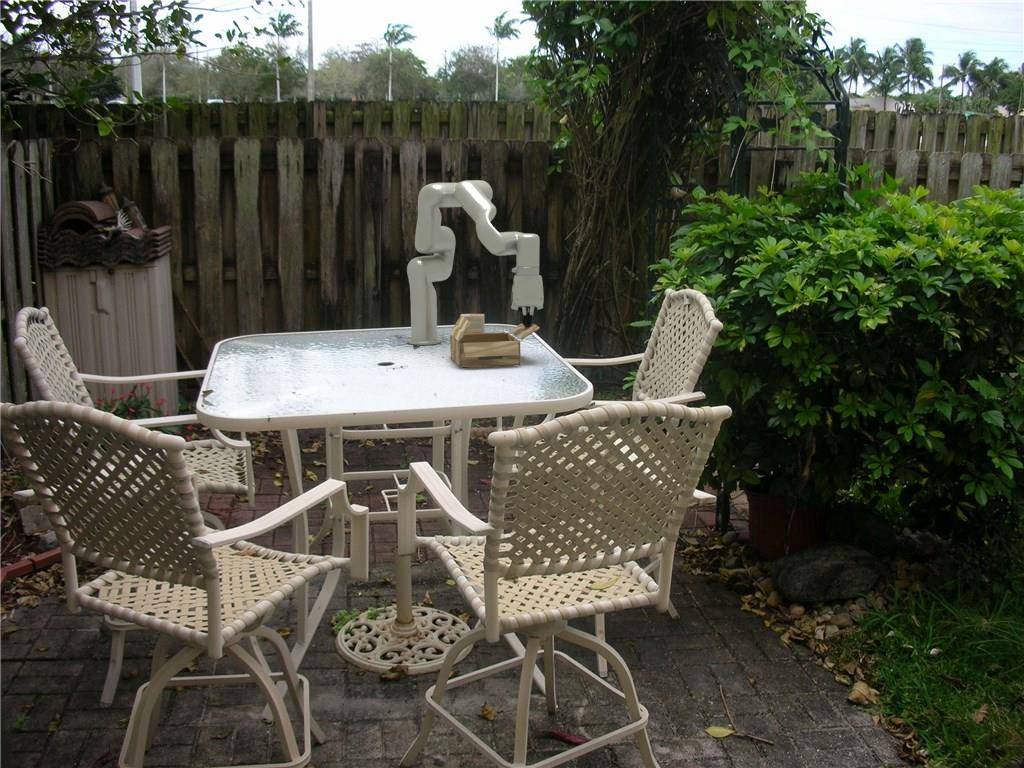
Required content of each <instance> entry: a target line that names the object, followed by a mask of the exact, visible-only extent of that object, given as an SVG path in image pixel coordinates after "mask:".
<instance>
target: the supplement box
mask: <svg viewBox="0 0 1024 768" xmlns="http://www.w3.org/2000/svg"><path fill="white" fill-rule="evenodd" d="M460 316H463V317H464V318H465V319H467V320H468V321H469V322H471V325H470V326H469V328H468V329H467V331H466V333H486V332H485V324H486V323H485V313H461V314H460V315H459V317H460Z"/></svg>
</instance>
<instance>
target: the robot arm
mask: <svg viewBox="0 0 1024 768" xmlns="http://www.w3.org/2000/svg"><path fill="white" fill-rule="evenodd" d="M493 194H494V193H493V188H492V187H491V185H490V184H489V182H487V181H485V180H482V179H481V180H480V179H479V180H478V179H477V180H476V179H474V180H468V179H467V180H463V181H462V180H461V181H460V182H433V183H429V184H426V185H424V186H423V187H421V189H420V191H419V192H418V196H417V198H418V199H417V220H416V229H415V235H414V237H415V238H414V247H415V250H416V251H417V252H418V253H420V254H424V255H423V256H417V257H416V256H415V257H414V258H412V259H411V260H410V261H409V262H408V264H407V267H406V273H407V278H408V284H409V292H410V295H409V296H410V326H411V327H410V329H411V331H410V332H411V333H410V336H411V337H409V338H407V340H406V342H407V343H408V344H409V345H414V346H415V345H417V346H418V345H419V346H429V345H430V346H431V345H437V344H440V342H441V343H442V338H441V337H438V306H437V303H438V301H437V292H436V289H435V287H434V285H433V283H435V282H442V281H445V280H447V279H448V278H449V277H450V276H451V274H452V271H453V265H454V257H455V250H456V236H455V234H454V231H453V230H452V229H451V228H450V227H448V226H445V225H441V224H442V212H441V210H440V208H462V209H463V210H464V211H465V212H466V213H467V214H468V216H469V217H471V219H472V220H473V221H474V223H475V230H476V235H477V239H478V240H479V241H480V243H481V244H482V245H483V246H484V247H485V249H486V250H487V251H488V252H490V253H491V254H492V255H495V256H512V255H516V258H515V259H516V262H515V263H516V265H515V267H513V268H511V273H514V277H513V281H512V289H511V306H510V308H511V309H512V310H514V311H518V312H520V314H521V323H522V324H524V326H525V327H530V324H532V323H533V315H534V313H536V312H537V311H538V310H541V309H544V298H545V297H544V295H545V294H544V285H543V278H542V277H543V276H542V275H540V236H539V235H538V234H536V233H524V232H521V231H520V232H519V231H504V232H499V231H498V230H497V229H496V228H495V226H493V224H492V223H491V222H492V221H493V219H495V216H496V215H497V208H496V206H495V205H494V204H493V203H492V199H493ZM425 254H428V255H425ZM429 254H433V255H429ZM526 307H527V308H528V309H527V308H526Z"/></svg>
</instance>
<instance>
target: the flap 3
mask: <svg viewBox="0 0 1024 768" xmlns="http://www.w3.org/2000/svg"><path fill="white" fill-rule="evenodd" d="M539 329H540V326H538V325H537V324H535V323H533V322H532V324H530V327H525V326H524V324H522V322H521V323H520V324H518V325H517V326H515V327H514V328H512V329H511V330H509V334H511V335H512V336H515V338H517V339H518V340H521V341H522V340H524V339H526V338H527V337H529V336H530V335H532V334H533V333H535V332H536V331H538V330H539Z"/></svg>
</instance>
